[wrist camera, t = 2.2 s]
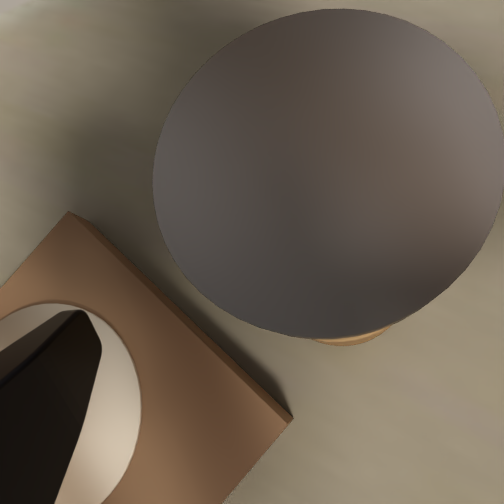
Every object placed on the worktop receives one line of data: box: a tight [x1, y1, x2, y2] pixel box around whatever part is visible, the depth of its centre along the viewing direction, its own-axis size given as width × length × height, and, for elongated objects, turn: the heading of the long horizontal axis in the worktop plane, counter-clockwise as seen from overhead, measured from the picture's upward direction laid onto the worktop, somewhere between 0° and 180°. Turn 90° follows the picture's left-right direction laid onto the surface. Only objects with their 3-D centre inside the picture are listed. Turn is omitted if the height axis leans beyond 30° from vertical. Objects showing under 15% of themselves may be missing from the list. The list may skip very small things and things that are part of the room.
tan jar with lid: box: [152, 9, 504, 346], centre depth 12 cm, size 5×5×11 cm
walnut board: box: [0, 211, 294, 504], centre depth 17 cm, size 16×12×2 cm
